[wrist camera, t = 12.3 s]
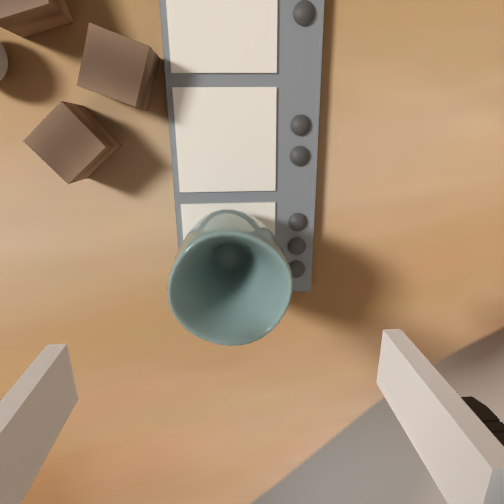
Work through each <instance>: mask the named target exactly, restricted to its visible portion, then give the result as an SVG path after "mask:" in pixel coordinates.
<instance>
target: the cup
mask: <svg viewBox="0 0 504 504" xmlns="http://www.w3.org/2000/svg"><path fill="white" fill-rule="evenodd" d="M167 290H168V302H169V305H170V308H171V311H172V313H173V314H174V316H175V318H176V319H177V321H178V322H179V323H180V324H181V325H182V326H183V327H184V328H185V329H186V330H188V331H189V332H191V333H192V334H194V335H195V336H197V337H199V338H201V339H203V340H206V341H209V342H212V343H215V344H221V345H228V346H233V345H244V344H248V343H252V342H254V341H256V340H259V339H261V338H262V337H264V336H265V335H266V334H268V333H269V332H271V330H272V329H273V328H274V327H275V326H276V325H277V324H278V323H279V322H280V320H281V319H282V317H283V316H284V314H285V312H286V310H287V308H288V306H289V304H290V300H291V296H292V290H293V277H292V272H291V267H290V264H289V262H288V260H287V258H286V256H285V254H284V252H283V249H282V247H281V245H280V243H279V242H278V240H277V238H276V237H275V235H274V234H273V233H272V232H271V230H270V229H269V228H268V227H267V226H266V225H265V224H264V223H262V222H261V221H260V220H259V219H257V218H256V217H254V216H252V215H250V214H248V213H245V212H243V211H239V210H234V209H221V210H216V211H213V212H211V213H209V214H207V215H205V216H204V217H202V218H201V219H200V220H199V221H197V222H196V224H195V225H194V226H193V227H192V228H191V229H190V231H189V232H188V234H187V235H186V237H185V239H184V240H183V242H182V244H181V246H180V248H179V250H178V252H177V255H176V257H175V260H174V263H173V265H172V268H171V271H170V274H169V280H168V287H167Z"/></svg>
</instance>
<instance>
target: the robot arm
mask: <svg viewBox="0 0 504 504" xmlns="http://www.w3.org/2000/svg"><path fill="white" fill-rule="evenodd" d="M376 383H377V385H378V387H379V388H380V390H381V392H382V393H383V395H384V397H385V398H386V400H387V402H388V403H389V405H390V407H391V408H392V410H393V412H394V414H395V415H396V417H397V418H398V420H399V422H400V423H401V425H402V427H403V429H404V430H405V432H406V434H407V435H408V437H409V439H410V440H411V442H412V444H413V445H414V447H415V449H416V450H417V452H418V454H419V456H420V457H421V459H422V460H423V462H424V464H425V466H426V467H427V469H428V471H429V472H430V474H431V476H432V477H433V479H434V481H435V482H436V484H437V486H438V488H439V489H440V491H441V492H442V494H443V496H444V498H445V499H446V501H447V503H448V504H504V424H503V423H502V422H500V421H499V419H498V418H497V416H496V415H495V414H494V413H493V412H492V411H491V410H490V409H489V408H488V407H487V406H485V405H484V404H482V403H481V402H479V401H478V400H476V399H475V398H473V397H460V396H459V395H458V394H457V393H456V392H455V390H454V389H453V388H452V387H451V386H450V385H449V384H448V382H447V381H446V380H445V379H444V378H443V377H442V376H441V375H440V373H439V372H438V371H437V370H436V369H435V368H434V366H433V365H432V364H431V363H430V362H429V361H428V360H427V358H426V357H425V356H424V355H423V354H422V353H421V352H420V351H419V349H418V348H417V347H416V346H415V345H414V344H413V343H412V341H411V340H410V339H409V338H408V337H407V336H406V335H405V333H404V332H403V331H402V330H401V329H386V330H383V334H382V342H381V350H380V358H379V366H378V374H377V382H376ZM77 400H78V396H77V391H76V386H75V382H74V377H73V372H72V367H71V362H70V357H69V352H68V348H67V344H53V345H47V346H46V347H45V348H44V349H43V350H42V352H41V353H40V354H39V355H38V356H37V358H36V359H35V360H34V361H33V362H32V364H31V365H30V366H29V367H28V368H27V370H26V371H25V372H24V373H23V374H22V376H21V377H20V378H19V379H18V380H17V382H16V383H15V384H14V385H13V386H12V388H11V389H10V390H9V391H8V393H7V394H6V395H5V396H4V397H3V399H2V400H1V401H0V504H21V502H22V501H23V499H24V497H25V495H26V493H27V492H28V490H29V488H30V486H31V484H32V482H33V481H34V479H35V477H36V475H37V473H38V471H39V470H40V468H41V466H42V464H43V462H44V461H45V459H46V457H47V455H48V453H49V451H50V450H51V448H52V446H53V444H54V442H55V440H56V439H57V437H58V435H59V433H60V431H61V430H62V428H63V426H64V424H65V422H66V420H67V419H68V417H69V415H70V413H71V411H72V409H73V408H74V406H75V404H76V402H77Z"/></svg>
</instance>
